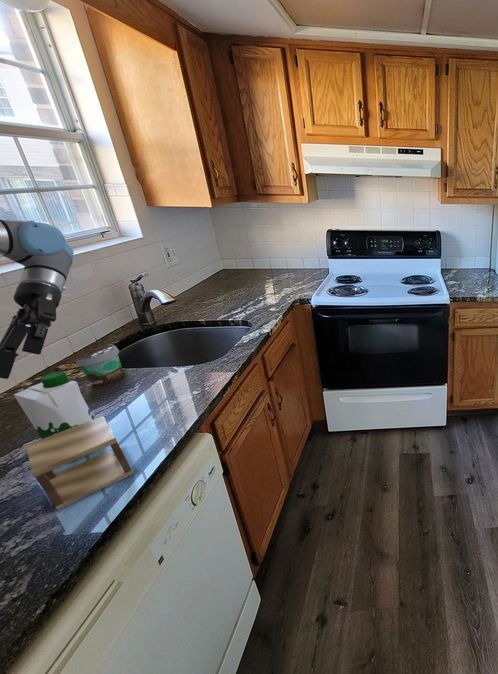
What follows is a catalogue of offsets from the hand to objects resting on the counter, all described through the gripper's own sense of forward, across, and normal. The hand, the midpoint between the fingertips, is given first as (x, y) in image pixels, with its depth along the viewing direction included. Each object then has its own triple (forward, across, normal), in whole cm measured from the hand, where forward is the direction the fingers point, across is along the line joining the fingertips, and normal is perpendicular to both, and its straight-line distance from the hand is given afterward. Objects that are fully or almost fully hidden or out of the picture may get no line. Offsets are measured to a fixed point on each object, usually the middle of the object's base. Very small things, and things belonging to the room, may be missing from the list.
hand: (14, 365), depth 81 cm
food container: (-16, +27, -30) cm, 44 cm away
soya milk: (+16, +7, -17) cm, 24 cm away
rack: (+25, -4, -16) cm, 30 cm away
